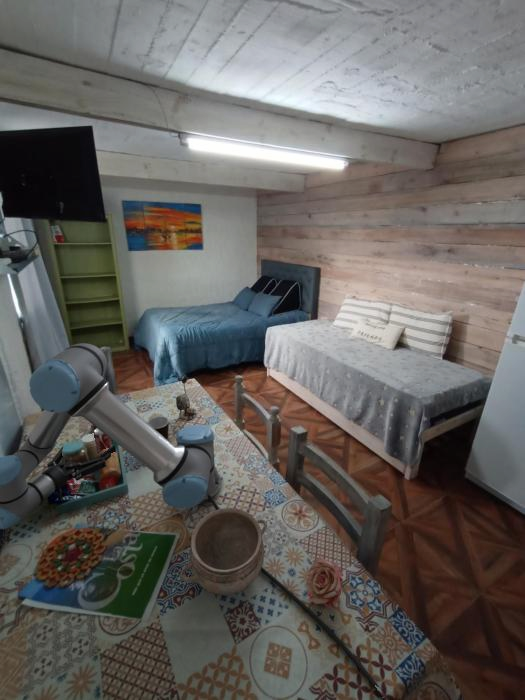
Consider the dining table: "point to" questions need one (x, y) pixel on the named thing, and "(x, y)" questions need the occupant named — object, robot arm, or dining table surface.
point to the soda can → (101, 440)
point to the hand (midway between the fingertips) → (101, 443)
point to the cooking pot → (226, 551)
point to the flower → (324, 582)
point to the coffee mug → (160, 425)
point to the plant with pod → (184, 404)
